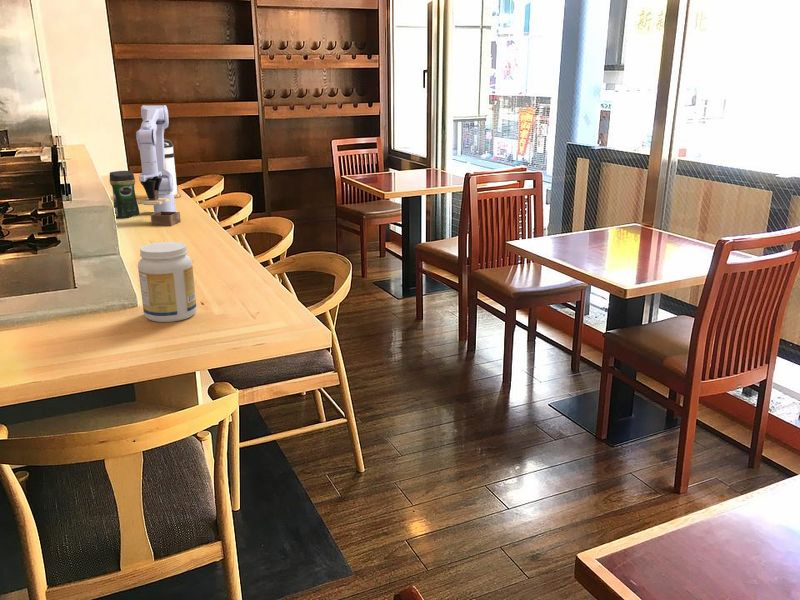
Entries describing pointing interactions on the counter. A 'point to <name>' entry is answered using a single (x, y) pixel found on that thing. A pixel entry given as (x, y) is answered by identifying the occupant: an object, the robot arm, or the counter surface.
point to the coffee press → (170, 163)
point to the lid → (154, 200)
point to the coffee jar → (124, 194)
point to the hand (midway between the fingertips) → (153, 197)
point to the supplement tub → (166, 282)
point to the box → (165, 218)
